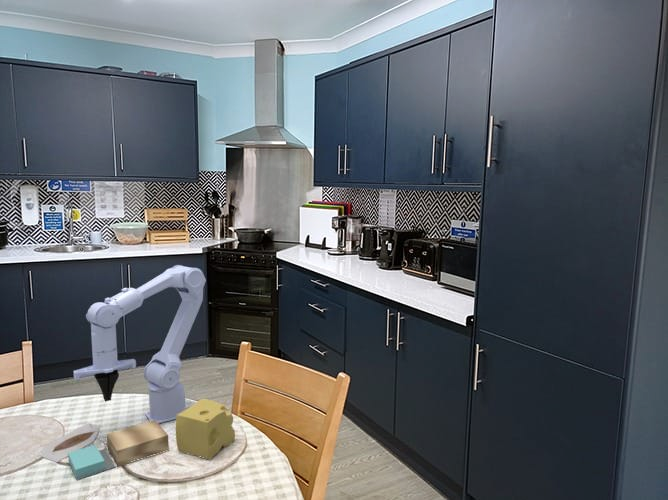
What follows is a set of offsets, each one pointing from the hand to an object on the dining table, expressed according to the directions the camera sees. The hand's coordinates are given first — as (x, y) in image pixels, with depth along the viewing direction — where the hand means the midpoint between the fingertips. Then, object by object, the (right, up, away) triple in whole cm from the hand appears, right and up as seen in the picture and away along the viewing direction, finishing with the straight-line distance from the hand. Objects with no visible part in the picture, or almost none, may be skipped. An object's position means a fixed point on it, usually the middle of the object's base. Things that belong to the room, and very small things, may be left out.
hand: (107, 399), depth 124 cm
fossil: (-8, -11, -1) cm, 14 cm away
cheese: (+27, -11, -3) cm, 29 cm away
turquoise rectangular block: (+1, -10, -12) cm, 16 cm away
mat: (+2, -12, -11) cm, 16 cm away
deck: (+10, -11, -5) cm, 16 cm away
